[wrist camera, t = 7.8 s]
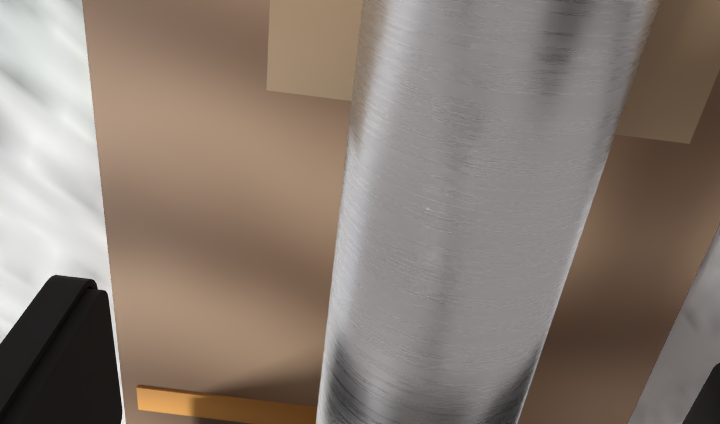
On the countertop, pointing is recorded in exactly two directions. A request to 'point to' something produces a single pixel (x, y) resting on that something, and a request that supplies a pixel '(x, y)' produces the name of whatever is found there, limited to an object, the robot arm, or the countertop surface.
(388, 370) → the pipe
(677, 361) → the countertop surface
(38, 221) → the countertop surface
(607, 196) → the stand
